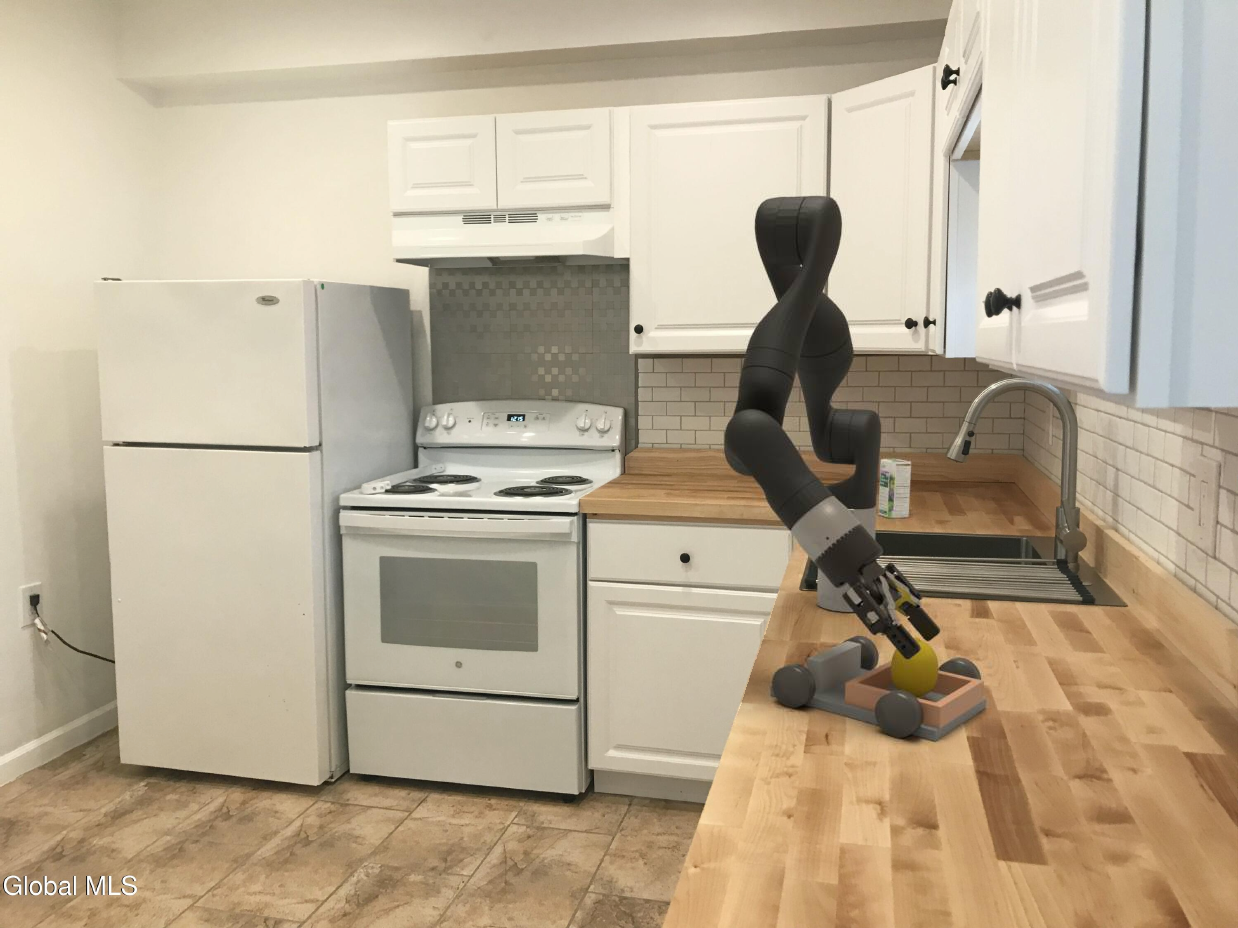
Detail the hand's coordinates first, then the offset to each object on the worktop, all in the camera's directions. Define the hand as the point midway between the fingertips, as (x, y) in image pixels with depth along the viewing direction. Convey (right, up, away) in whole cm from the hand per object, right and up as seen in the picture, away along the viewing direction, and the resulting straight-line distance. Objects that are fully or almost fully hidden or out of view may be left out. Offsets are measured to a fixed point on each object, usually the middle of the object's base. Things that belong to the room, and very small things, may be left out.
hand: (925, 645), depth 122 cm
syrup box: (+33, +8, +137) cm, 141 cm away
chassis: (-5, -8, +5) cm, 10 cm away
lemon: (-1, -7, +2) cm, 7 cm away
